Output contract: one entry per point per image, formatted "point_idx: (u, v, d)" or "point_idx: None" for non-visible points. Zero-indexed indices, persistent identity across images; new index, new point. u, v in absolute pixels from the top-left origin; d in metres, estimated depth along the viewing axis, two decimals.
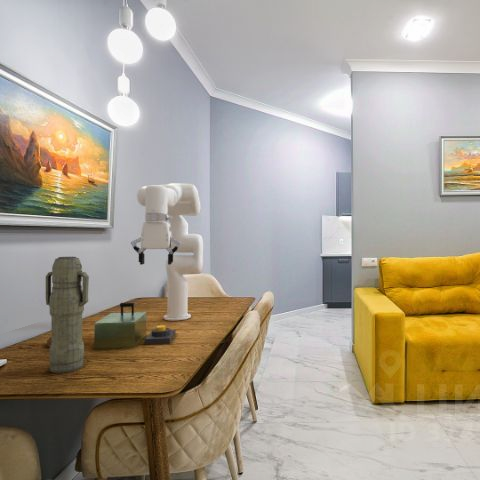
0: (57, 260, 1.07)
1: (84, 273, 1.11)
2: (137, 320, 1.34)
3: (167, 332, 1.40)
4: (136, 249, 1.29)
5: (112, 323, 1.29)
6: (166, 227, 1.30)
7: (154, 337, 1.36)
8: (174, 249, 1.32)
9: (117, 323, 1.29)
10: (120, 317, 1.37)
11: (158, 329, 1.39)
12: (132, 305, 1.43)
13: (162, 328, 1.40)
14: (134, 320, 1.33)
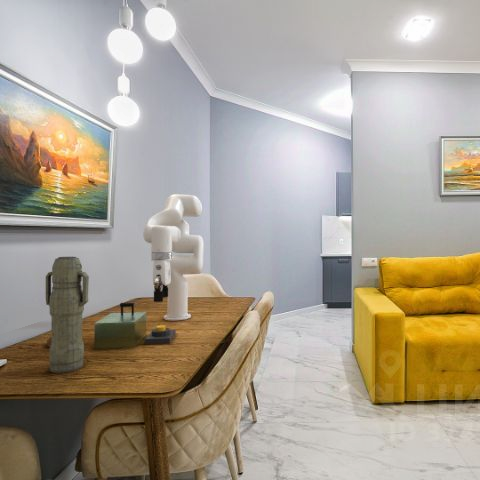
0: (57, 260, 1.07)
1: (84, 273, 1.11)
2: (137, 320, 1.34)
3: (167, 332, 1.40)
4: None
5: (112, 323, 1.29)
6: None
7: (154, 337, 1.36)
8: None
9: (117, 323, 1.29)
10: (120, 317, 1.37)
11: (158, 329, 1.39)
12: (132, 305, 1.43)
13: (162, 328, 1.40)
14: (134, 320, 1.33)
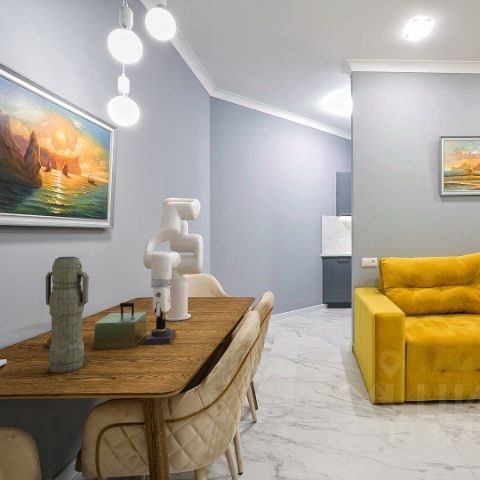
0: (57, 260, 1.07)
1: (84, 273, 1.11)
2: (137, 320, 1.34)
3: (167, 332, 1.40)
4: None
5: (112, 323, 1.29)
6: (153, 292, 1.36)
7: (154, 337, 1.36)
8: None
9: (117, 323, 1.29)
10: (120, 317, 1.37)
11: None
12: (132, 305, 1.43)
13: (162, 330, 1.40)
14: (134, 320, 1.33)
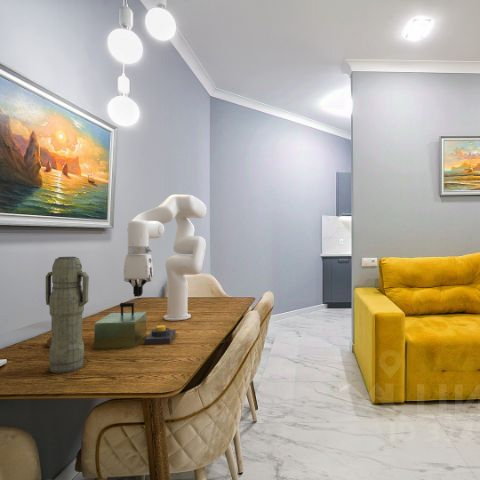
0: (57, 260, 1.07)
1: (84, 273, 1.11)
2: (137, 320, 1.34)
3: (167, 332, 1.40)
4: (131, 282, 1.41)
5: (112, 323, 1.29)
6: (145, 259, 1.40)
7: (154, 337, 1.36)
8: (142, 282, 1.41)
9: (117, 323, 1.29)
10: (120, 317, 1.37)
11: (158, 329, 1.39)
12: (132, 305, 1.43)
13: (162, 328, 1.40)
14: (134, 320, 1.33)
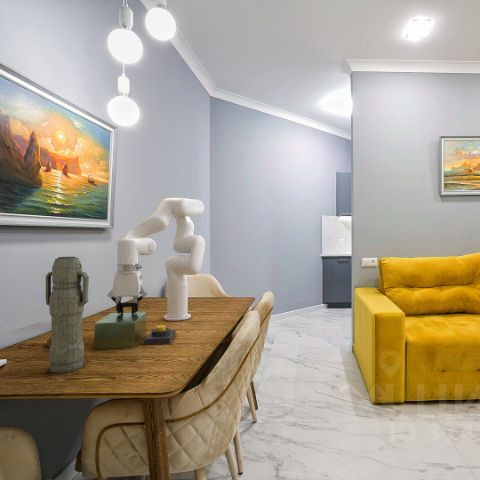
0: (57, 260, 1.07)
1: (84, 273, 1.11)
2: (137, 320, 1.34)
3: (167, 332, 1.40)
4: (114, 299, 1.41)
5: (112, 323, 1.29)
6: (136, 276, 1.42)
7: (154, 337, 1.36)
8: (139, 299, 1.43)
9: (117, 323, 1.29)
10: (120, 317, 1.37)
11: (158, 329, 1.39)
12: (132, 305, 1.43)
13: (162, 328, 1.40)
14: (134, 320, 1.33)
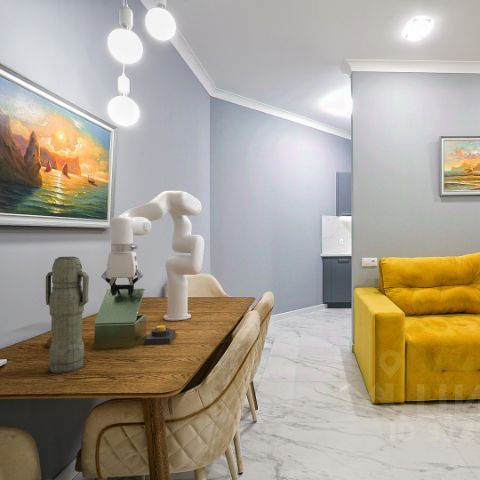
0: (57, 260, 1.07)
1: (84, 273, 1.11)
2: (136, 315, 1.33)
3: (167, 332, 1.40)
4: (108, 281, 1.35)
5: (112, 323, 1.29)
6: (131, 257, 1.35)
7: (154, 337, 1.36)
8: (134, 280, 1.37)
9: (117, 323, 1.29)
10: (118, 305, 1.35)
11: (158, 329, 1.39)
12: None
13: (162, 328, 1.40)
14: (133, 317, 1.32)
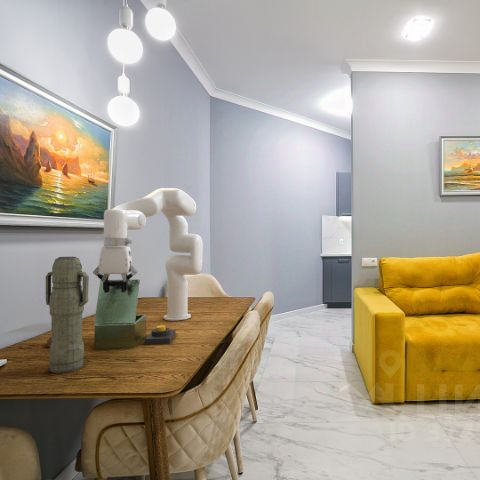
0: (57, 260, 1.07)
1: (84, 273, 1.11)
2: (135, 314, 1.32)
3: (167, 332, 1.40)
4: (100, 277, 1.27)
5: (112, 323, 1.29)
6: (125, 252, 1.28)
7: (154, 337, 1.36)
8: (128, 277, 1.29)
9: (117, 323, 1.29)
10: (115, 302, 1.31)
11: (158, 329, 1.39)
12: None
13: (162, 328, 1.40)
14: (133, 316, 1.31)
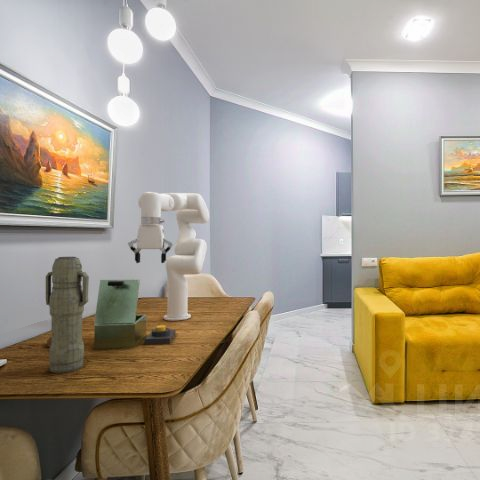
0: (57, 260, 1.07)
1: (84, 273, 1.11)
2: (135, 314, 1.32)
3: (167, 332, 1.40)
4: (133, 249, 1.45)
5: (112, 323, 1.29)
6: (159, 229, 1.46)
7: (154, 337, 1.36)
8: (167, 249, 1.47)
9: (117, 323, 1.29)
10: (115, 302, 1.31)
11: (158, 329, 1.39)
12: (122, 285, 1.30)
13: (162, 328, 1.40)
14: (133, 316, 1.31)
